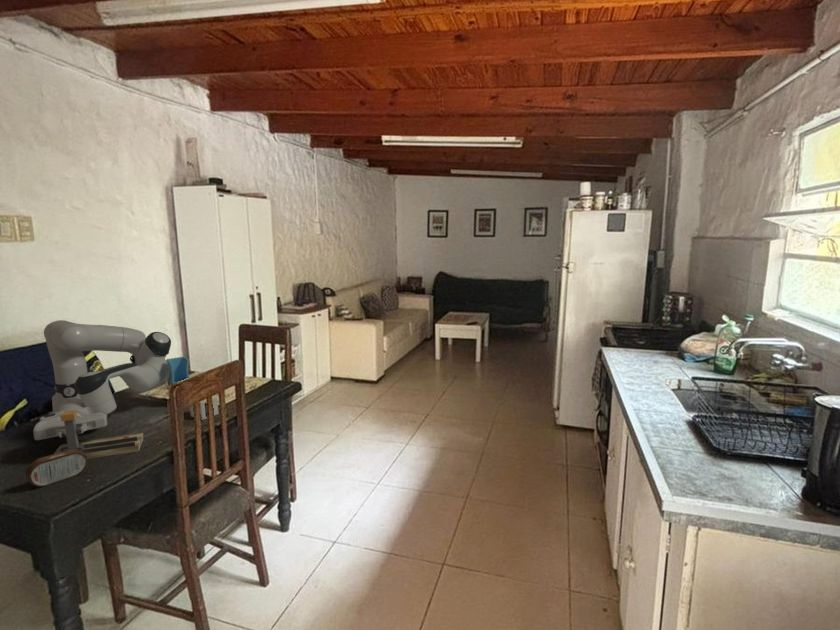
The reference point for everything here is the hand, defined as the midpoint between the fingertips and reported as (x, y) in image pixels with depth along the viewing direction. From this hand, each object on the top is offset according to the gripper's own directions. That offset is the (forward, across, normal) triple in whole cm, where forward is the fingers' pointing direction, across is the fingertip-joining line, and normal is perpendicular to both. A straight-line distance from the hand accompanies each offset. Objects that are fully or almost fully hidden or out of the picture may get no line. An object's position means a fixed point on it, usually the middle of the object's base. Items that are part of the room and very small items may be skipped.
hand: (71, 433), depth 156 cm
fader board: (-2, -7, -9) cm, 12 cm away
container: (-16, -43, -9) cm, 47 cm away
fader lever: (-1, 0, -7) cm, 7 cm away
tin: (+15, +4, -9) cm, 18 cm away
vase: (-37, -38, -9) cm, 54 cm away
